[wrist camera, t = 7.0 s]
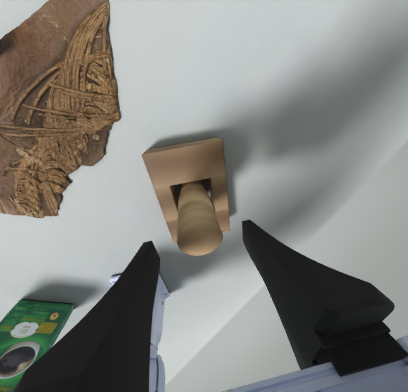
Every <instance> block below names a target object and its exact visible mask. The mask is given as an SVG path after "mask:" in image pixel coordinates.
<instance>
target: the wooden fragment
mask: <svg viewBox="0 0 408 392" xmlns="http://www.w3.org/2000/svg"><path fill="white" fill-rule="evenodd" d="M109 11H110V6H109V3H108V0H49V1H48V2H46V3H45V4H44V5H43V6H42V7H41V8H40V9H39V10H38V11H36V12H35V13H34V14H32V15H31V16H30V17H29V18H28V19H26V20H25V21H24V22H23V23H22V24H20V26H18V27H17V28H15V29H13V30H12V31H11V32H9V33H8V34H6V35H5V36H4V37H3V38H2V39H0V213H4V214H11V215H27V216H32V217H35V218H43V217H44V216H58V213H57V211H58V210H59V209H58V205H59V204H60V202H61V193H62V191H64V190H65V189H66V187H67V186H68V185H69V184H71V181H70V180H69V179H68V178H67V175H69V174H70V173H71V172H74V171H75V170H77V168H79V167H80V165H85V166H93V165H95V164H96V163H97V162H98V161H99V160H100V159H101V158H102V157H103V156H104V152H103V148H104V146H105V144H106V138H107V134H108V131H109V130H110V128H111V125H112V124H113V122H116V121H119V119H120V116H119V109H120V107H119V102H118V99H117V85H116V78H114V75H113V70H114V68H113V60H112V57H111V55H112V54H111V50H110V44H109V33H108V31H107V22H108V21H109Z"/></svg>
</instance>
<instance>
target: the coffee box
mask: <svg viewBox="0 0 408 392" xmlns="http://www.w3.org/2000/svg"><path fill="white" fill-rule="evenodd" d="M73 306H74V305H73V304H65V303H50V302H39V301H34V300H31V301H28V300H20V301H19V302H18V303H17V304H16V305H15V306H14V307H13V308H12V309H11V310H10V312H9V313H8V314H7V315H6V316H5V317H4V318H3V320H2V321H1V322H0V392H13V390H14V388H15V387H16V385H17V384H18V382H19V380H20V379H21V377H22V375H23V374H24V372H25V371H26V369H27V368H29V367H30V366H31V365H32V364H33V363H35V362H36V361H37V360H38V359H39V358H40V357H41V356H43V355H44V354H45V353H46V352H47V351H48V350H49V349H51V347H52V346H53V344H54V342H55V341H56V339H57V337H58V335H59V334H60V332H61V330H62V329H63V327H64V325H65V324H66V322H67V320H68V318H69V316H70V314H71V312H72V311H73Z"/></svg>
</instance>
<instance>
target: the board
mask: <svg viewBox="0 0 408 392" xmlns="http://www.w3.org/2000/svg"><path fill="white" fill-rule="evenodd" d="M142 157H143V160H144V163H145V165H146V168H147V171H148V174H149V176H150V179H151V182H152V185H153V187H154V190H155V193H156V196H157V198H158V201H159V204H160V207H161V209H162V212H163V215H164V218H165V220H166V223H167V226H168V229H169V231H170V234H171V237H172V240H173V242H177V227H178V200H177V197H176V193H175V190H174V186H173V185H177V184H182V183H187V182H192V181H197V180H202V179H207V178H208V179H209V186H210V193H211V200H212V201H211V203H212V205H213V208H214V211H215V214H216V217H217V220H218V222H219V225H220V228H221V231H222V232H224V231H229V230H230V221H229V209H228V197H227V185H226V173H225V161H224V149H223V140H222V139H220V138H218V137H214V138H209V139H204V140H198V141H193V142H187V143H182V144H176V145H171V146H165V147H160V148H155V149H149V150H146V151H145V152H144V153H143V154H142Z"/></svg>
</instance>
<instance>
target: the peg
mask: <svg viewBox="0 0 408 392" xmlns="http://www.w3.org/2000/svg"><path fill="white" fill-rule="evenodd" d="M222 239H223V234H222V231H221V228H220V225H219V222H218V220H217V217H216V214H215V211H214V208H213V205H212V203H211V200H210V197H209V194H208V193H207V191H206V190H205V188H204V185H203V183H202V182H201V181H200V180H197V181H192V182H187V183H182V185H181V188H180V196H179V199H178V227H177V244H178V246H179V248H180V249H181V250H182V251H183V252H185V253H187V254H189V255H195V256H199V255H205V254H208V253H211V252H212V251H214V250H215V249H217V248H218V247H219V245H220V244H221V242H222Z"/></svg>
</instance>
